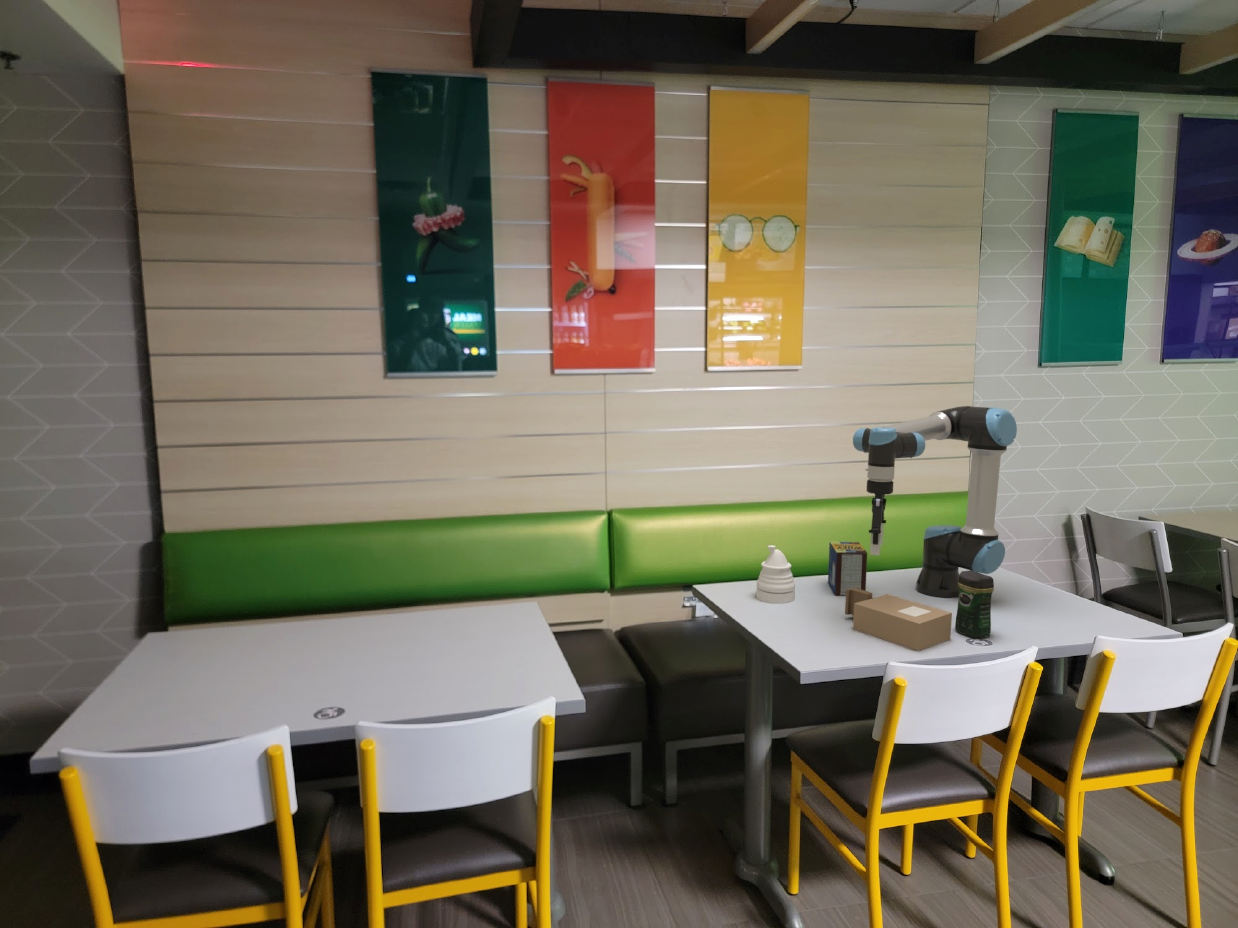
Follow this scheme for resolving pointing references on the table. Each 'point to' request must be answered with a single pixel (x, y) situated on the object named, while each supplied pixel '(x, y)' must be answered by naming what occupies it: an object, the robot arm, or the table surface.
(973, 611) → the coffee jar
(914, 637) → the cardboard box
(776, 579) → the honey pot
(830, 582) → the protein box
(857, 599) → the tray
